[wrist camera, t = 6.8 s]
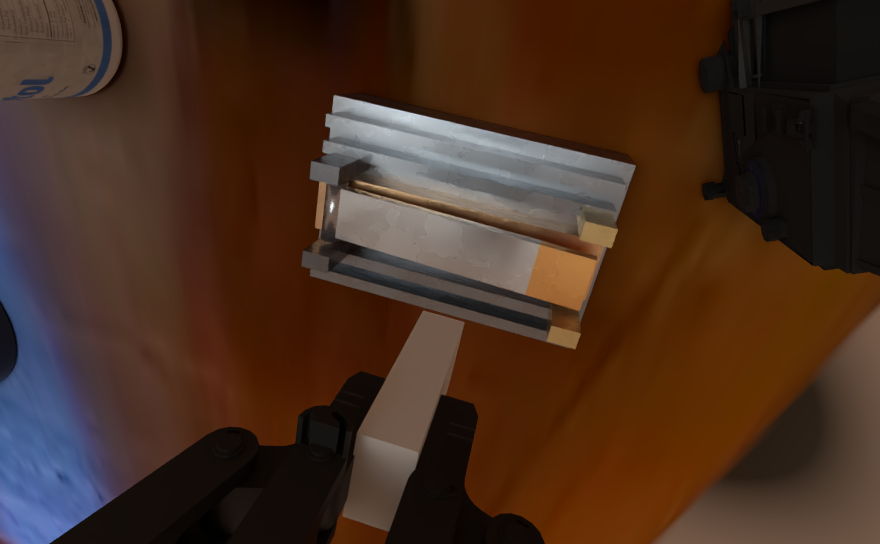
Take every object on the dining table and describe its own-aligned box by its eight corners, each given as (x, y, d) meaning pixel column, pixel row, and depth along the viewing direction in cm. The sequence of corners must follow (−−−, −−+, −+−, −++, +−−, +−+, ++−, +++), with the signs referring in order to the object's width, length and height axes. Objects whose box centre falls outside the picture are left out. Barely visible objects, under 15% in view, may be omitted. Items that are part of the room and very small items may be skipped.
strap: (326, 233, 31) (317, 238, 30) (333, 176, 30) (323, 179, 29) (578, 308, 28) (577, 317, 27) (598, 249, 27) (598, 256, 26)
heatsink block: (337, 255, 39) (279, 304, 31) (357, 92, 34) (294, 99, 26) (570, 318, 37) (574, 389, 29) (627, 154, 32) (650, 183, 24)
